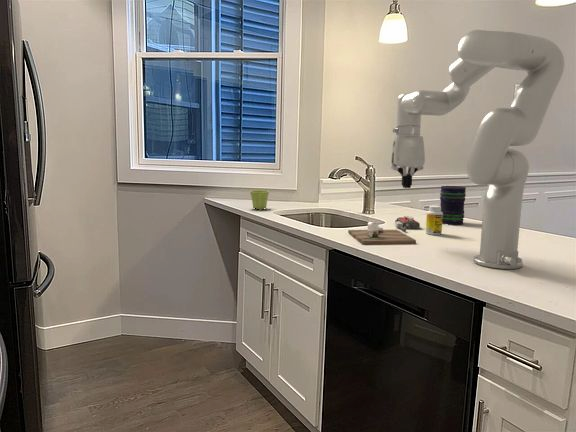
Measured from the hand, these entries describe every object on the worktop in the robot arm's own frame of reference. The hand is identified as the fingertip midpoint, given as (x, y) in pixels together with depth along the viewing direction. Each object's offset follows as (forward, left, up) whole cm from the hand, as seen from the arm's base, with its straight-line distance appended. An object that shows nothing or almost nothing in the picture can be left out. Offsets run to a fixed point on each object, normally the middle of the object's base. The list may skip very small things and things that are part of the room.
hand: (406, 187), depth 164 cm
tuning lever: (+4, +9, -16) cm, 19 cm away
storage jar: (+32, -32, -18) cm, 49 cm away
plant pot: (+75, +44, -18) cm, 89 cm away
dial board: (+3, +7, -18) cm, 20 cm away
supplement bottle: (+10, -15, -18) cm, 25 cm away
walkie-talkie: (+23, -10, -19) cm, 31 cm away
